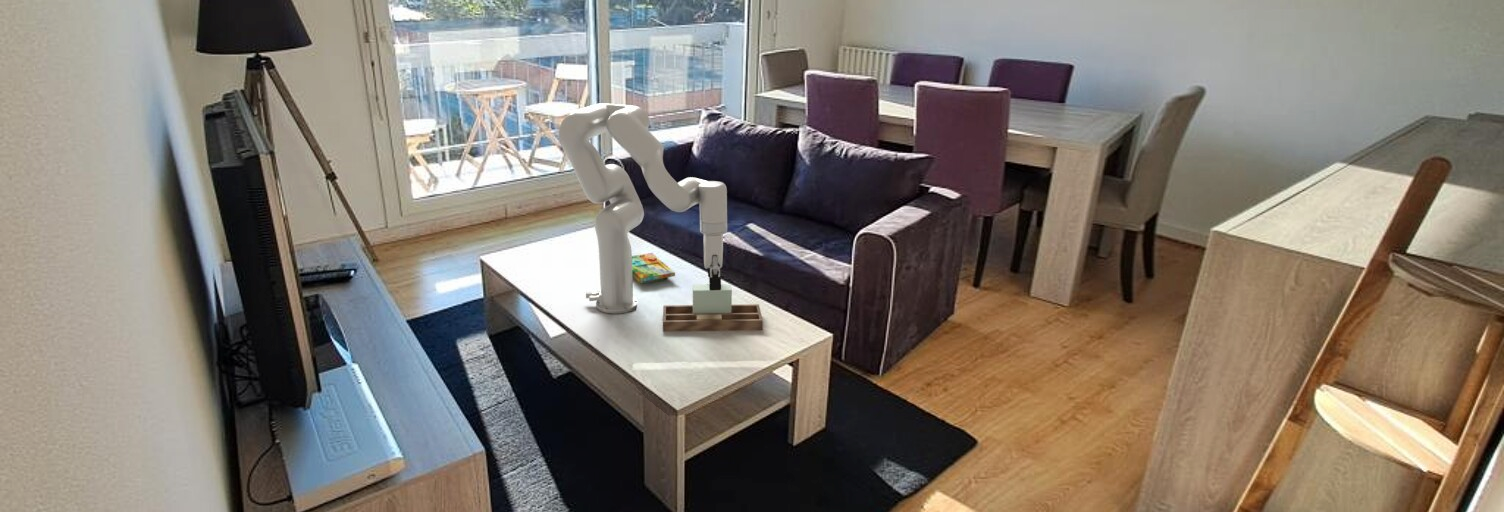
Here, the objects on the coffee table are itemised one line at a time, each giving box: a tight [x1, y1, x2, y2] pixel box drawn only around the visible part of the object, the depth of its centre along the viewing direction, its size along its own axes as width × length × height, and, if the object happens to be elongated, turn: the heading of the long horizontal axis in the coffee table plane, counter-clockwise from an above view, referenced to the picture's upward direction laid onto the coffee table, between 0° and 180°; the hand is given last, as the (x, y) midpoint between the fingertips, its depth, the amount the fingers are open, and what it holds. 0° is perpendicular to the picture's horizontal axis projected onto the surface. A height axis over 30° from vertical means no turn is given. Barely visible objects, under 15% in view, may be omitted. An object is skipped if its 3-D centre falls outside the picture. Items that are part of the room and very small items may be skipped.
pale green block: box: [692, 284, 733, 314], centre depth 225 cm, size 11×4×10 cm, turn 95°
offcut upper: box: [697, 314, 722, 320], centre depth 221 cm, size 7×3×2 cm, turn 95°
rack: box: [662, 303, 764, 333], centre depth 225 cm, size 28×11×4 cm, turn 95°
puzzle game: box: [632, 252, 676, 284], centre depth 259 cm, size 12×5×20 cm
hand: (714, 283), depth 223 cm, fingers open, 9 cm apart
